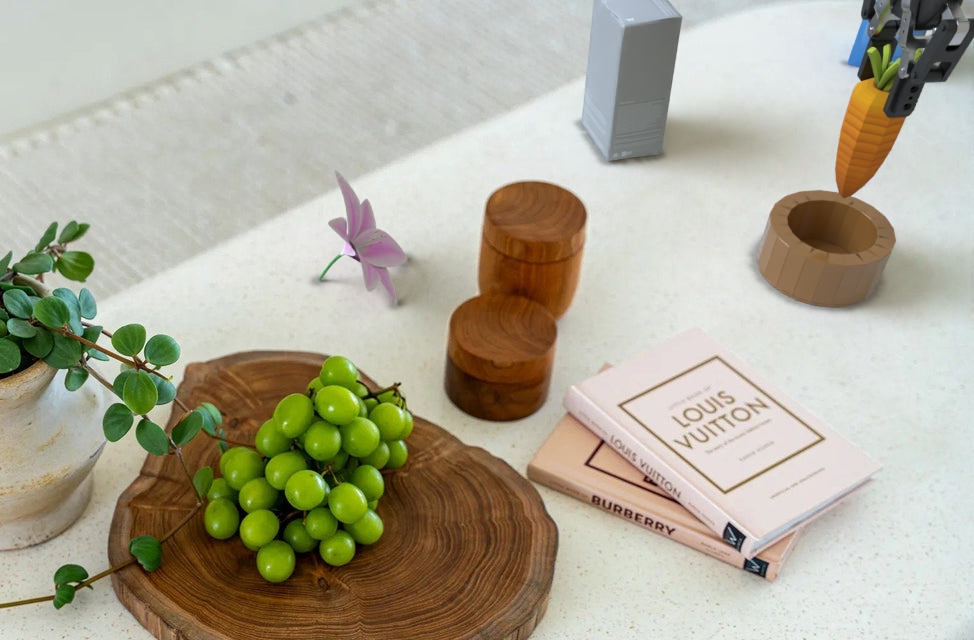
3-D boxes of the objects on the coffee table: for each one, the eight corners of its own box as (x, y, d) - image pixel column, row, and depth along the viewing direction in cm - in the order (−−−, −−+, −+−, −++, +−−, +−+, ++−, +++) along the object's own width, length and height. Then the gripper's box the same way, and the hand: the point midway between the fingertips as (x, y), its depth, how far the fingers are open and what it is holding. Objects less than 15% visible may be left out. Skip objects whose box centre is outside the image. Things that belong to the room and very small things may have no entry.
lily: (351, 351, 103) (407, 275, 97) (253, 266, 104) (303, 187, 98) (404, 306, 113) (457, 234, 107) (314, 229, 113) (362, 154, 108)
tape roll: (871, 239, 113) (888, 198, 109) (883, 314, 105) (902, 272, 102) (755, 224, 114) (768, 183, 111) (758, 297, 107) (772, 256, 103)
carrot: (805, 197, 104) (858, 47, 93) (831, 174, 106) (886, 24, 95) (856, 221, 101) (916, 69, 90) (882, 196, 104) (943, 45, 93)
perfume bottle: (865, 42, 139) (899, -55, 130) (916, 58, 137) (954, -40, 128) (847, 63, 136) (880, -35, 127) (899, 80, 133) (937, -19, 124)
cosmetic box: (662, 156, 122) (693, 18, 111) (598, 164, 121) (623, 25, 110) (632, 113, 128) (660, -23, 116) (572, 120, 127) (593, -16, 115)
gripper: (1058, -66, 79) (963, 143, 92) (965, -149, 89) (890, 51, 101) (953, -62, 79) (872, 148, 91) (871, -146, 89) (808, 54, 101)
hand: (882, 96), depth 96 cm, fingers closed on carrot, 5 cm apart
